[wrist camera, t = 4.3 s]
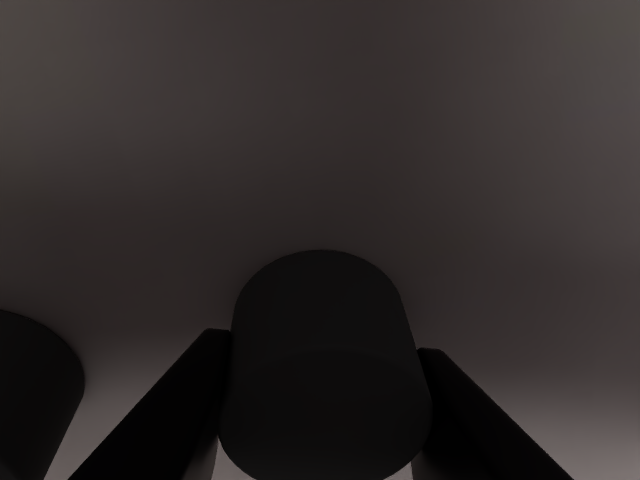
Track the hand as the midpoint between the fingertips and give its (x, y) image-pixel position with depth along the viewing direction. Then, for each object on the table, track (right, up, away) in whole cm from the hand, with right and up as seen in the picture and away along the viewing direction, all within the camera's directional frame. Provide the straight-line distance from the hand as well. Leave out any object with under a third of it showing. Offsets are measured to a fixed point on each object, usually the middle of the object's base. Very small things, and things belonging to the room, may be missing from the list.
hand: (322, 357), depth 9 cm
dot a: (0, 0, +1) cm, 1 cm away
